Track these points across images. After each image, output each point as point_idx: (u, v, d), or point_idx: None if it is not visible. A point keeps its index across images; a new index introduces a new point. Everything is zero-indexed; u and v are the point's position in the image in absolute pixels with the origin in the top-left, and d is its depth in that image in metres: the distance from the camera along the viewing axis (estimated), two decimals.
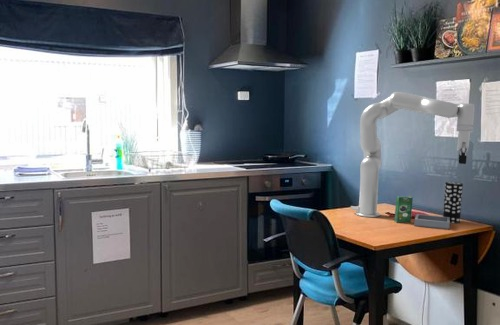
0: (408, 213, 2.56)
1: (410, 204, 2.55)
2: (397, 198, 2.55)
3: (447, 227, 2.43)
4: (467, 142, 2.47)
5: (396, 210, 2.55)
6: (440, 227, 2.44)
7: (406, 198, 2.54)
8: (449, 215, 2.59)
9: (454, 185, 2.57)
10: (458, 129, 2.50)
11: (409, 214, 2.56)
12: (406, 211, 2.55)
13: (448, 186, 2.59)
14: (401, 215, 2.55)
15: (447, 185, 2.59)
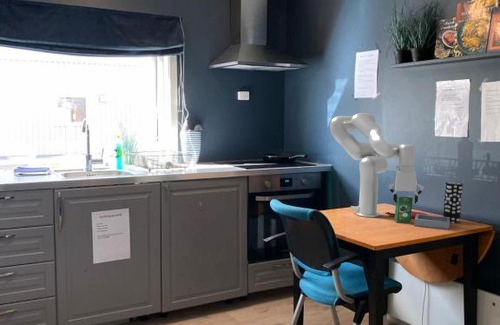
0: (408, 213, 2.56)
1: (410, 204, 2.55)
2: (397, 198, 2.55)
3: (447, 227, 2.43)
4: None
5: (396, 210, 2.55)
6: (440, 227, 2.44)
7: (406, 198, 2.54)
8: (449, 215, 2.59)
9: (454, 185, 2.57)
10: (410, 170, 2.50)
11: (409, 214, 2.56)
12: (406, 211, 2.55)
13: (448, 186, 2.59)
14: (401, 215, 2.55)
15: (447, 185, 2.59)
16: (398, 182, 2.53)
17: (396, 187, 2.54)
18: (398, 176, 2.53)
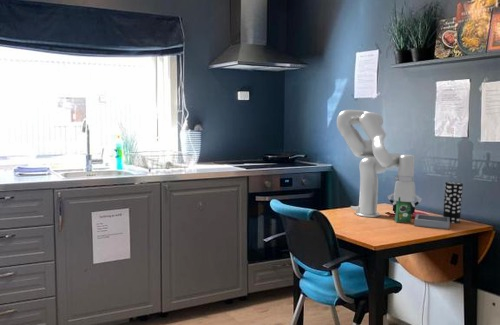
0: (408, 213, 2.56)
1: (410, 204, 2.55)
2: None
3: (447, 227, 2.43)
4: None
5: (396, 210, 2.55)
6: (440, 227, 2.44)
7: None
8: (449, 215, 2.59)
9: (454, 185, 2.57)
10: (409, 181, 2.51)
11: (409, 214, 2.56)
12: (406, 211, 2.55)
13: (448, 186, 2.59)
14: (401, 215, 2.55)
15: (447, 185, 2.59)
16: (397, 192, 2.54)
17: (394, 197, 2.55)
18: (397, 186, 2.54)
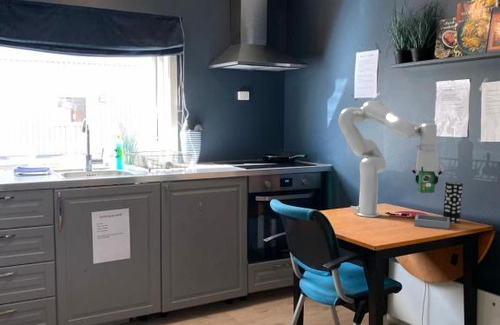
0: (431, 183, 2.50)
1: (433, 174, 2.50)
2: None
3: (447, 227, 2.43)
4: None
5: (419, 180, 2.50)
6: (440, 227, 2.44)
7: None
8: (449, 215, 2.59)
9: (454, 185, 2.57)
10: (432, 149, 2.46)
11: (432, 184, 2.50)
12: (429, 180, 2.50)
13: (448, 186, 2.59)
14: (424, 185, 2.49)
15: (447, 185, 2.59)
16: (419, 162, 2.49)
17: (417, 167, 2.50)
18: (419, 156, 2.49)
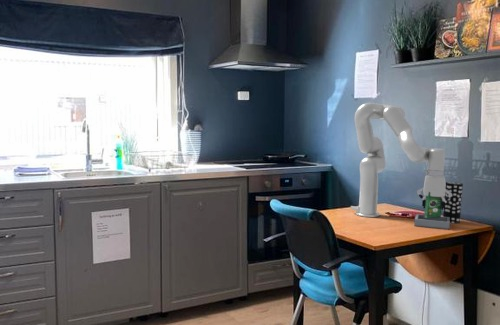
0: (438, 208, 2.50)
1: (440, 199, 2.50)
2: None
3: (447, 227, 2.43)
4: None
5: (426, 205, 2.50)
6: (440, 227, 2.44)
7: None
8: (449, 215, 2.59)
9: (454, 185, 2.57)
10: (440, 175, 2.46)
11: (439, 209, 2.50)
12: (436, 206, 2.50)
13: (448, 186, 2.59)
14: (431, 210, 2.49)
15: (447, 185, 2.59)
16: (427, 187, 2.49)
17: (424, 192, 2.49)
18: (427, 181, 2.49)
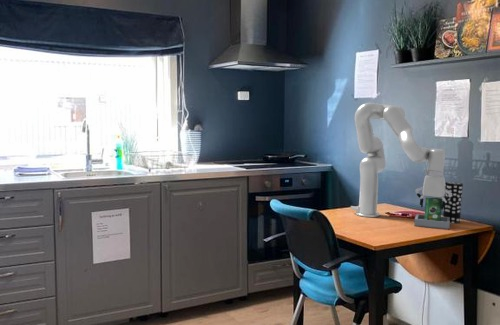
0: (438, 215, 2.51)
1: (440, 205, 2.50)
2: (427, 199, 2.50)
3: (447, 227, 2.43)
4: None
5: (426, 211, 2.50)
6: (440, 227, 2.44)
7: (436, 199, 2.50)
8: (449, 215, 2.59)
9: (454, 185, 2.57)
10: (439, 175, 2.46)
11: (439, 215, 2.51)
12: (435, 212, 2.50)
13: (448, 186, 2.59)
14: (431, 217, 2.50)
15: (447, 185, 2.59)
16: (426, 187, 2.49)
17: (423, 192, 2.50)
18: (426, 181, 2.49)
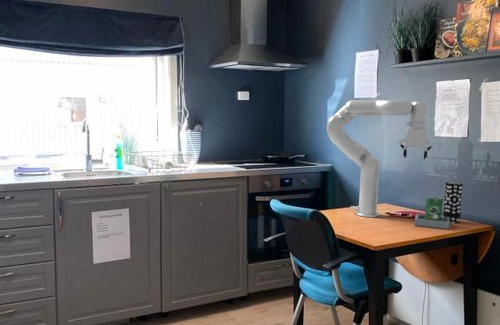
0: (438, 215, 2.50)
1: (440, 205, 2.50)
2: (427, 199, 2.50)
3: (447, 227, 2.43)
4: None
5: (426, 212, 2.50)
6: (440, 227, 2.44)
7: (436, 199, 2.49)
8: (449, 215, 2.59)
9: (454, 185, 2.57)
10: (421, 126, 2.59)
11: (439, 216, 2.51)
12: (436, 212, 2.50)
13: (448, 186, 2.59)
14: (431, 217, 2.49)
15: (447, 185, 2.59)
16: (409, 138, 2.62)
17: (406, 143, 2.63)
18: (409, 132, 2.62)
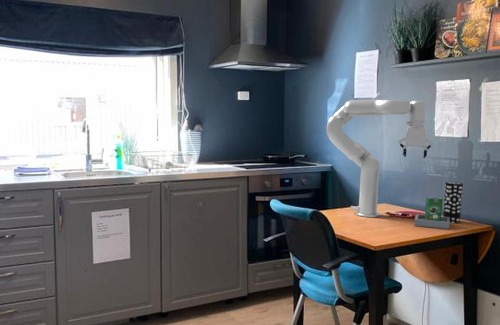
0: (438, 215, 2.50)
1: (440, 205, 2.50)
2: (427, 199, 2.50)
3: (447, 227, 2.43)
4: None
5: (426, 212, 2.50)
6: (440, 227, 2.44)
7: (436, 199, 2.49)
8: (449, 215, 2.59)
9: (454, 185, 2.57)
10: (421, 125, 2.59)
11: (439, 216, 2.51)
12: (436, 212, 2.50)
13: (448, 186, 2.59)
14: (431, 217, 2.49)
15: (447, 185, 2.59)
16: (408, 137, 2.62)
17: (406, 142, 2.63)
18: (408, 131, 2.62)
